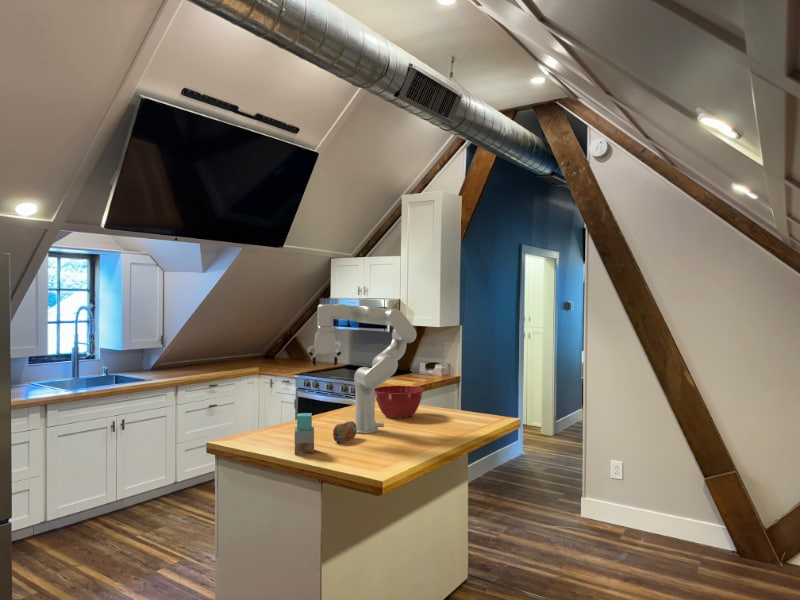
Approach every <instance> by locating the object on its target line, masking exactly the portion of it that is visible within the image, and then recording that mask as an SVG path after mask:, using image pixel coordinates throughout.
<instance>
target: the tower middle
mask: <svg viewBox="0 0 800 600" xmlns="http://www.w3.org/2000/svg"><path fill="white" fill-rule="evenodd" d="M295 443H314V444H315V426H312V430H300V431H297V426H294V444H295Z"/></svg>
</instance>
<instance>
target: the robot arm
mask: <svg viewBox="0 0 800 600" xmlns="http://www.w3.org/2000/svg"><path fill="white" fill-rule="evenodd" d="M316 316H317V321H316V323H317V332H315V334H314V344H313V345H310V346H309V347H307V348H306V351H307V352H308V354H309V356H311V357H312V365H313V366H314V367H316V360H317V359H316V356H317V355H318V354H319V355H321V354H322V355H323V354H324V355H327V354H332V355H333V356H334V358H333V363H334V364H333V365H334V366H335V367H336V366H337V365H338V357H339V356H340V355H342V352H343V351H344V348H343V347H342V346H340V345H338V344H337V343H336V333H335V331H336V330H337V328H336V327H334V319H335V320H343V321H352V322H357V323H362V324H372V325H381V326H392V327H393V329H392V333H391V334H392V335H391V338H392V340H391V343H390V344H389V345H388V346H387V347H386V348H385V349H384V350H383V351H381V352H380V353H379V354H378V355H376V356H375V357H374V358H373V359H372V362H371V365H372V366H371V367H368V366H362V367H359V368H357V369H356V371H355V373H354V377H353V379H354V380H353V381H354V388H355V390H354V391H355V404H354V405H355V414H354V415H355V419H354V420H355V421H354V423H355V424H356V428H357V431H356V434H364V435H365V434H374V433H376V432H378V430H379V429H378V428H384V427H385V424H384V422H376V419H375V417H376V415H375V405H376V404H375V403H376V402H375V400H376V397H375V392H374V389H375V388H378V387H381V385H382V384H383V383H385V382H386V381H387V380H388V379H390V378H391V377H392V376H393V375H394V374H395V373H396V372H397V369H398V366H399V363H398V361H399V360H401V358H402V357H403V356H404V355H405V353H406V350H407V344H411V343H413V342H415V340H416V338H417V334H418V333H417V330H416V328H415V327H414V326H413V324H412V323H411V322H410V321H409V320H408V318H407V317H406V316H405V314H404V313H403V312H402V311H400V310H399V309H398V308H397V309H396V308H387V307H377V306H370V305H358V306H357V305H347V304H344V303H335V304H329V303H327V304H326V303H325V304H318V305H317V315H316ZM337 349H338V352H337V353H336V351H337ZM311 350H313V351H314V353H312V351H311Z"/></svg>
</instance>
